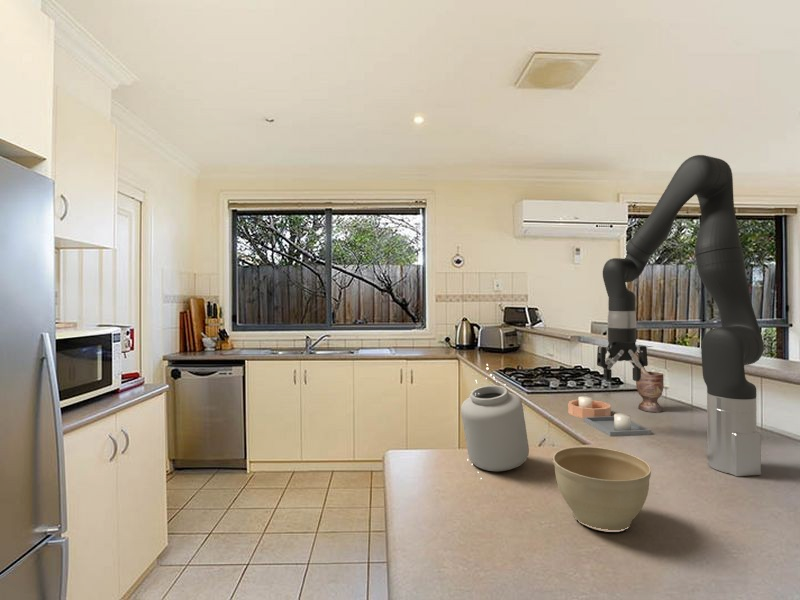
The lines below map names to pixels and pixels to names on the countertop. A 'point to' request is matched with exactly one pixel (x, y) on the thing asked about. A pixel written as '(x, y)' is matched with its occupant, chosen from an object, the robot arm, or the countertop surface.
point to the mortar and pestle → (650, 389)
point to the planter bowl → (602, 485)
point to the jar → (495, 428)
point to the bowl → (589, 409)
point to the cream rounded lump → (585, 402)
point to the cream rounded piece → (622, 422)
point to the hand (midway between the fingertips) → (622, 381)
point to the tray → (607, 426)
